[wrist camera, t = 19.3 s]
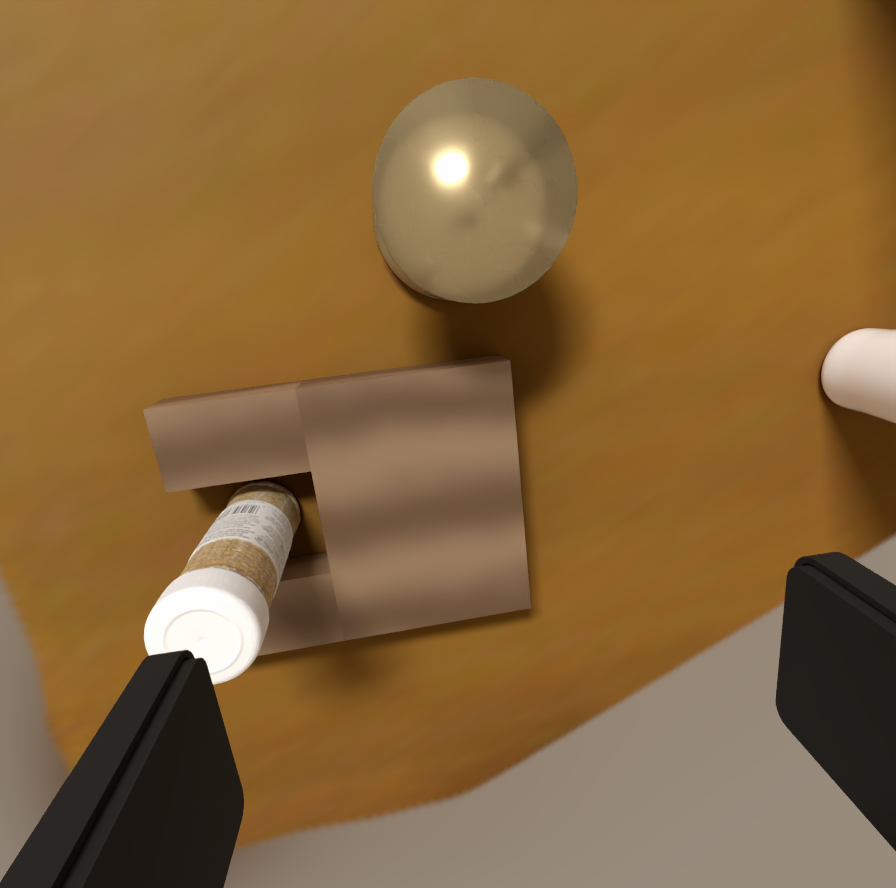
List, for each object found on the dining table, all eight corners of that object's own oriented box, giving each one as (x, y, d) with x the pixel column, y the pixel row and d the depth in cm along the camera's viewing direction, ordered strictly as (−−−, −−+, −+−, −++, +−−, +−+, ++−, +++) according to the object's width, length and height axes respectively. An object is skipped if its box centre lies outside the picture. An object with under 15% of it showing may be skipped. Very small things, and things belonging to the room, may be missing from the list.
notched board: (163, 399, 32) (142, 409, 29) (499, 354, 34) (510, 360, 31) (225, 634, 37) (212, 663, 34) (519, 584, 38) (531, 608, 36)
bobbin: (361, 139, 30) (356, 87, 22) (523, 124, 31) (572, 68, 23) (385, 309, 32) (388, 314, 25) (534, 291, 33) (581, 291, 26)
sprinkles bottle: (229, 545, 35) (145, 692, 22) (225, 477, 34) (133, 591, 21) (303, 545, 36) (262, 688, 23) (302, 478, 34) (258, 589, 22)
